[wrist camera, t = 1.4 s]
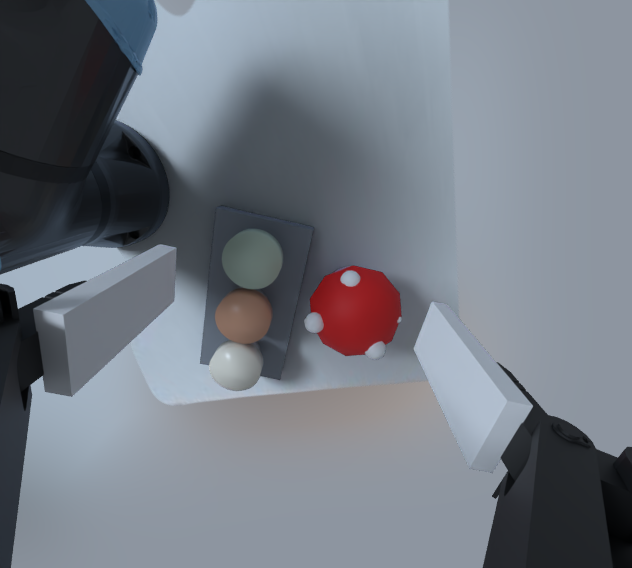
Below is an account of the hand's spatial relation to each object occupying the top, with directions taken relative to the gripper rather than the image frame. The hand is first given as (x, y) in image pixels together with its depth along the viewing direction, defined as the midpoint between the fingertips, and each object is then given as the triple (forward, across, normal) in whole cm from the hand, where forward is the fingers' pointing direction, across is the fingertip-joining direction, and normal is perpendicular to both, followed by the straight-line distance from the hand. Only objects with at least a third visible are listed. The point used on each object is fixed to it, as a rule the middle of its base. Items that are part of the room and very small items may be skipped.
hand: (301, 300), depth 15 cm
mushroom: (+26, +7, -9) cm, 29 cm away
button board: (+26, -6, -13) cm, 30 cm away
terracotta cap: (+22, -6, -13) cm, 26 cm away
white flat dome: (+22, -6, -21) cm, 30 cm away
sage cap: (+22, -6, -6) cm, 23 cm away
